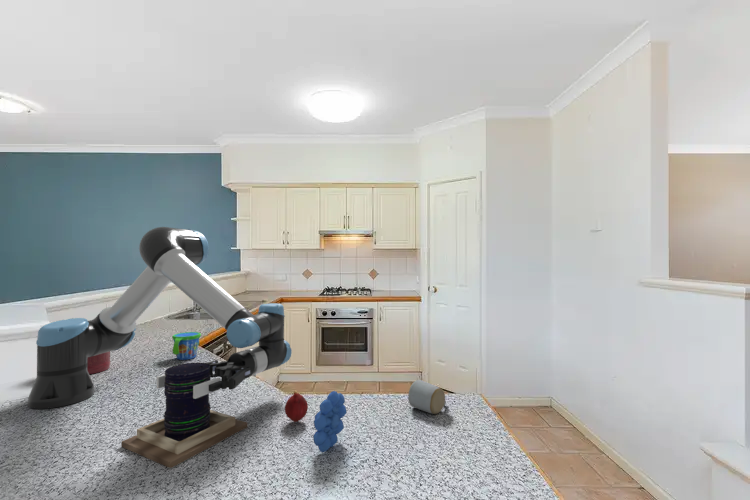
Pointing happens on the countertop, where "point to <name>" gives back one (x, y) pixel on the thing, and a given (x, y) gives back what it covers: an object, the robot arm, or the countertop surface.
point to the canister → (98, 363)
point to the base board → (175, 452)
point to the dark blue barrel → (185, 401)
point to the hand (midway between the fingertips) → (175, 387)
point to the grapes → (329, 421)
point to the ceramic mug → (426, 397)
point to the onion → (296, 407)
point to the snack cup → (186, 345)
